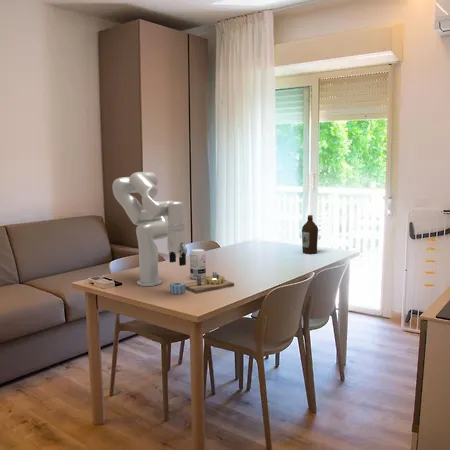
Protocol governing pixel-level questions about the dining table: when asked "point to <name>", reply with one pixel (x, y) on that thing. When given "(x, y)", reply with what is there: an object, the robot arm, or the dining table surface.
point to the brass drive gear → (214, 279)
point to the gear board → (205, 285)
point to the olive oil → (309, 236)
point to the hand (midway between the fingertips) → (177, 263)
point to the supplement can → (197, 263)
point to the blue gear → (177, 288)
